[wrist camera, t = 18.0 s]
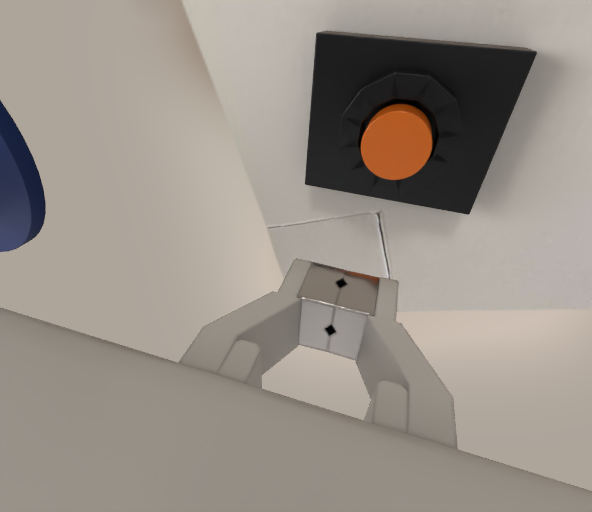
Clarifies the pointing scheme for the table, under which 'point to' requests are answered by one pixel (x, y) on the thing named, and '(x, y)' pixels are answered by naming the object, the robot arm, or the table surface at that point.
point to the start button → (397, 142)
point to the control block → (421, 94)
